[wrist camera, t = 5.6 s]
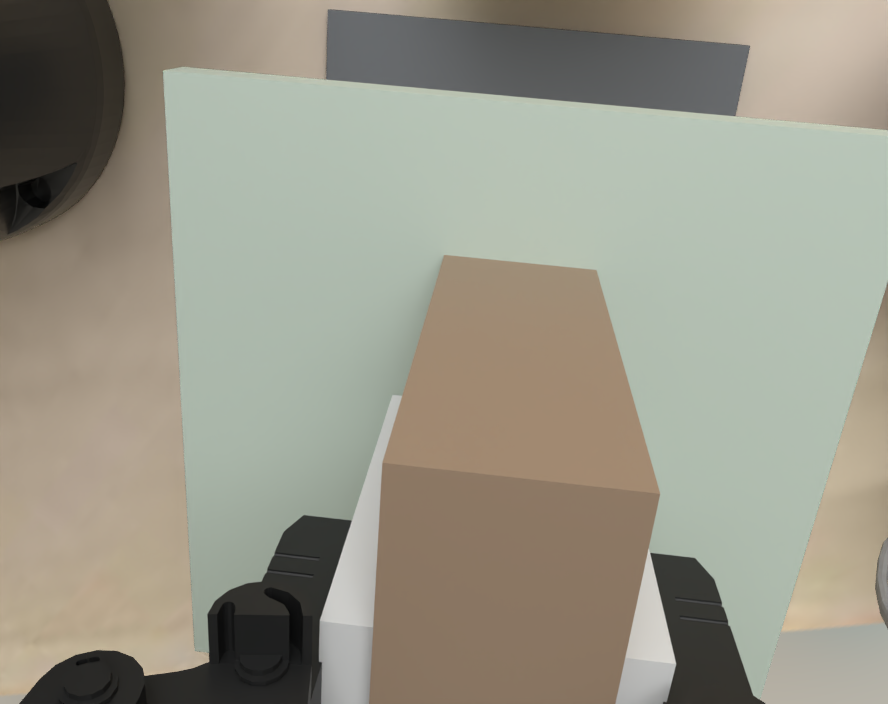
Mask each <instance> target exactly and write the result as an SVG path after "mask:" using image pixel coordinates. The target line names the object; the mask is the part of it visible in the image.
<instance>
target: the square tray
mask: <svg viewBox="0 0 888 704" xmlns="http://www.w3.org/2000/svg"><path fill="white" fill-rule="evenodd" d="M749 48H750V46H748V45H738V44H726V43H715V42H703V41H691V40H680V39H668V38H656V37H645V36H633V35H622V34H610V33H598V32H587V31H575V30H563V29H552V28H540V27H529V26H517V25H505V24H494V23H482V22H470V21H459V20H447V19H436V18H424V17H412V16H401V15H389V14H377V13H366V12H354V11H343V10H328V28H327V76H326V80H336V81H347V82H359V83H370V84H381V85H392V86H403V87H414V88H425V89H436V90H448V91H459V92H470V93H481V94H492V95H503V96H514V97H525V98H536V99H548V100H559V101H570V102H581V103H592V104H603V105H614V106H625V107H637V108H648V109H659V110H670V111H681V112H692V113H703V114H714V115H725V116H735V115H736V110H737V105H738V101H739V96H740V91H741V86H742V82H743V77H744V72H745V67H746V63H747V58H748V53H749Z"/></svg>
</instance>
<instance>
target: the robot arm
mask: <svg viewBox="0 0 888 704" xmlns="http://www.w3.org/2000/svg"><path fill="white" fill-rule="evenodd" d="M123 102H124V70H123V60H122V53H121V47H120V42H119V38H118V33H117V29H116V25H115V22H114V19H113V16H112V13H111V10H110V7H109V5H108V2H107V0H0V240H4V239H8V238H10V237H13V236H16V235H19V234H21V233H23V232H25V231H28V230H30V229H32V228H34V227H36V226H39V225H41V224H43V223H45V222H47V221H50V220H52V219H53V218H55V217H57V216H59V215H60V214H62V213H63V212H65V211H66V210H68V209H69V208H70V207H72V206H73V205H74V204H75V203H76V202H78V201H79V200H80V199H81V198H82V197H83V196H84V195H85V194H86V193H87V192H88V190H89V189H90V188H91V187H92V185H93V184H94V183H95V182H96V180H97V179H98V177H99V176H100V174H101V173H102V171H103V169H104V167H105V165H106V164H107V162H108V160H109V157H110V155H111V153H112V151H113V148H114V145H115V142H116V139H117V136H118V132H119V128H120V123H121V118H122V112H123ZM401 398H402V396H399V395H392V398H391V401H390V404H389V407H388V410H387V413H386V417H385V420H384V423H383V426H382V429H381V432H380V435H379V438H378V441H377V445H376V448H375V451H374V454H373V457H372V460H371V463H370V466H369V469H368V472H367V476H366V479H365V482H364V485H363V488H362V491H361V494H360V497H359V500H358V504H357V507H356V510H355V513H354V516H353V519H352V520H343V519H334V518H326V517H317V516H308V515H303V516H302V517H301V518H299V519H298V520H297V521H296V522H295V523H293V524H292V525H291V526H290V527H289V528H287V529H286V530H285V531H284V532H283V534H282V537H281V539H280V541H279V543H278V546H277V548H276V550H275V554H274V556H273V557H272V559H271V561H270V564H269V566H268V568H267V573H265V575H264V577H263V579H262V582H253V583H246V584H244V585H241V586H238V587H236V588H233V589H230V590H228V591H227V592H226V593H225V594H223V595H222V596H221V597H219V598H218V599H217V600H215V602H214V604H213V605H212V607H211V609H210V610H209V612H208V614H207V618H208V640H209V662H208V663H205V664H203V665H200V666H198V667H196V668H192V669H188V670H183V671H178V672H171V673H164V674H156V675H149V676H144V673H143V668H142V667H141V666H140V665H139V664H138V662H137V661H136V660H135V659H134V658H133V657H131V656H128V655H126V654H123V653H120V652H118V651H101V650H96V651H92V652H87V653H83V654H78V655H75V656H73V657H71V658H69V659H67V660H65V661H63V662H61V663H59V664H57V665H55V666H54V667H53V668H52V669H51V670H50V671H48V672H47V673H46V674H45V675H44V676H43V677H42V678H40V680H39V681H38V682H37V683H36V684H35V686H34V687H33V688H32V689H31V690H30V692H29V693H28V694H27V695H26V696H25V698H24V699H23V700H22V701H21V702H20V704H369V694H370V676H371V657H372V639H373V621H374V603H375V585H376V567H377V549H378V531H379V513H380V495H381V477H382V462H383V459H384V455H385V452H386V449H387V445H388V442H389V438H390V435H391V432H392V428H393V425H394V422H395V418H396V415H397V412H398V408H399V405H400V401H401ZM615 704H765V703H764V702H762V701H761V700H759V699H758V698H756V697H755V696H753V693H752V690H751V687H750V684H749V681H748V678H747V675H746V672H745V669H744V666H743V663H742V660H741V657H740V654H739V651H738V648H737V645H736V642H735V639H734V636H733V633H732V630H731V627H730V626H728V619H727V616H726V613H725V610H724V607H722V601H721V598H720V595H719V592H718V589H717V586H716V583H715V580H714V578H713V577H712V576H711V575H710V574H709V573H708V572H707V571H706V570H705V568H704V567H703V566H702V565H701V564H700V563H699V562H698V561H697V559H696V558H692V557H683V556H674V555H666V554H657V553H650V551H649V549H648V554H647V558H646V563H645V568H644V572H643V577H642V582H641V586H640V591H639V596H638V600H637V605H636V610H635V615H634V619H633V624H632V629H631V633H630V638H629V643H628V647H627V652H626V657H625V661H624V666H623V671H622V675H621V680H620V685H619V689H618V694H617V699H616V703H615Z"/></svg>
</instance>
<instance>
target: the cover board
mask: <svg viewBox="0 0 888 704" xmlns="http://www.w3.org/2000/svg"><path fill="white" fill-rule="evenodd" d="M163 80H164V99H165V117H166V135H167V153H168V172H169V190H170V208H171V226H172V245H173V263H174V281H175V299H176V318H177V336H178V354H179V372H180V391H181V409H182V427H183V445H184V464H185V482H186V500H187V518H188V537H189V555H190V573H191V591H192V610H193V628H194V646H195V651H199V652H207V653H209V640H208V618H207V614H208V612H209V610H210V609H211V607H212V605H213V604H214V602H215V600H217V599H218V598H219V597H221V596H222V595H223V594H225V593H226V592H227V591H228V590H230V589H233V588H236V587H238V586H241V585H244V584H246V583H253V582H262V579H263V577H264V575H265V573H267V568H268V566H269V564H270V561H271V559H272V557H273V556H274V554H275V550H276V548H277V546H278V543H279V541H280V539H281V537H282V534H283V532H284V531H285V530H286V529H287V528H289V527H290V526H291V525H292V524H293V523H295V522H296V521H297V520H298V519H299V518H301V517H302V516H303V515H308V516H317V517H326V518H334V519H343V520H352V519H353V516H354V513H355V510H356V507H357V504H358V500H359V497H360V494H361V491H362V488H363V485H364V482H365V479H366V476H367V472H368V469H369V466H370V463H371V460H372V457H373V454H374V451H375V448H376V445H377V441H378V438H379V435H380V432H381V429H382V426H383V423H384V420H385V417H386V413H387V410H388V407H389V404H390V401H391V398H392V395H399V396H402V398H401V401H400V405H399V408H398V412H397V415H396V418H395V422H394V425H393V428H392V432H391V435H390V438H389V442H388V445H387V449H386V452H385V455H384V459H383V462H382V477H381V495H380V513H379V531H378V549H377V567H376V585H375V603H374V621H373V639H372V657H371V676H370V694H369V704H615V703H616V699H617V694H618V689H619V685H620V680H621V675H622V671H623V666H624V661H625V657H626V652H627V647H628V643H629V638H630V633H631V629H632V624H633V619H634V615H635V610H636V605H637V600H638V596H639V591H640V586H641V582H642V577H643V572H644V568H645V563H646V558H647V554H648V549H649V551H650V553H657V554H666V555H674V556H683V557H692V558H696V559H697V561H698V562H699V563H700V564H701V565H702V566H703V567H704V568H705V570H706V571H707V572H708V573H709V574H710V575H711V576H712V577H713V578H714V580H715V583H716V586H717V589H718V592H719V595H720V598H721V601H722V607H724V610H725V613H726V616H727V619H728V626H730V627H731V630H732V633H733V636H734V639H735V642H736V645H737V648H738V651H739V654H740V657H741V660H742V663H743V666H744V669H745V672H746V675H747V678H748V681H749V684H750V687H751V690H752V693H753V696H755V697H756V698H758V699H759V700H760V698H761V694H762V691H763V688H764V685H765V681H766V678H767V675H768V672H769V668H770V665H771V662H772V658H773V655H774V652H775V649H776V645H777V642H778V638H779V636H780V632H781V629H782V626H783V623H784V619H785V616H786V613H787V609H788V606H789V603H790V600H791V596H792V593H793V590H794V587H795V583H796V580H797V577H798V574H799V570H800V567H801V564H802V560H803V557H804V554H805V551H806V547H807V544H808V541H809V538H810V534H811V531H812V528H813V525H814V521H815V518H816V515H817V511H818V508H819V505H820V502H821V498H822V495H823V492H824V489H825V485H826V482H827V479H828V475H829V472H830V469H831V466H832V462H833V459H834V456H835V453H836V449H837V446H838V443H839V440H840V436H841V433H842V430H843V426H844V423H845V420H846V417H847V413H848V410H849V407H850V404H851V400H852V397H853V394H854V391H855V387H856V384H857V381H858V377H859V374H860V371H861V368H862V364H863V361H864V358H865V355H866V351H867V348H868V345H869V341H870V338H871V335H872V332H873V328H874V325H875V322H876V319H877V315H878V312H879V309H880V306H881V302H882V299H883V296H884V292H885V289H886V286H887V283H888V130H881V129H870V128H859V127H848V126H837V125H825V124H814V123H803V122H792V121H781V120H770V119H759V118H748V117H737V116H725V115H714V114H703V113H692V112H681V111H670V110H659V109H648V108H637V107H625V106H614V105H603V104H592V103H581V102H570V101H559V100H548V99H536V98H525V97H514V96H503V95H492V94H481V93H470V92H459V91H448V90H436V89H425V88H414V87H403V86H392V85H381V84H370V83H359V82H347V81H336V80H325V79H314V78H303V77H292V76H281V75H270V74H259V73H247V72H236V71H225V70H214V69H203V68H192V67H179V68H174V69H169V70H164V71H163Z"/></svg>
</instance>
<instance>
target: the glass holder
mask: <svg viewBox="0 0 888 704" xmlns="http://www.w3.org/2000/svg"><path fill="white" fill-rule="evenodd" d="M887 582H888V538H887V539H886V540H885V541H884V543H883V545H882V548H881V551H880V555H879V558H878V563H877V573H876V585H875V589H876V594H877V600H878V605H879V610H880V614H881V616H882V618H883V620H884V622H885V624H886V626H887V628H888V583H887Z"/></svg>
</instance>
